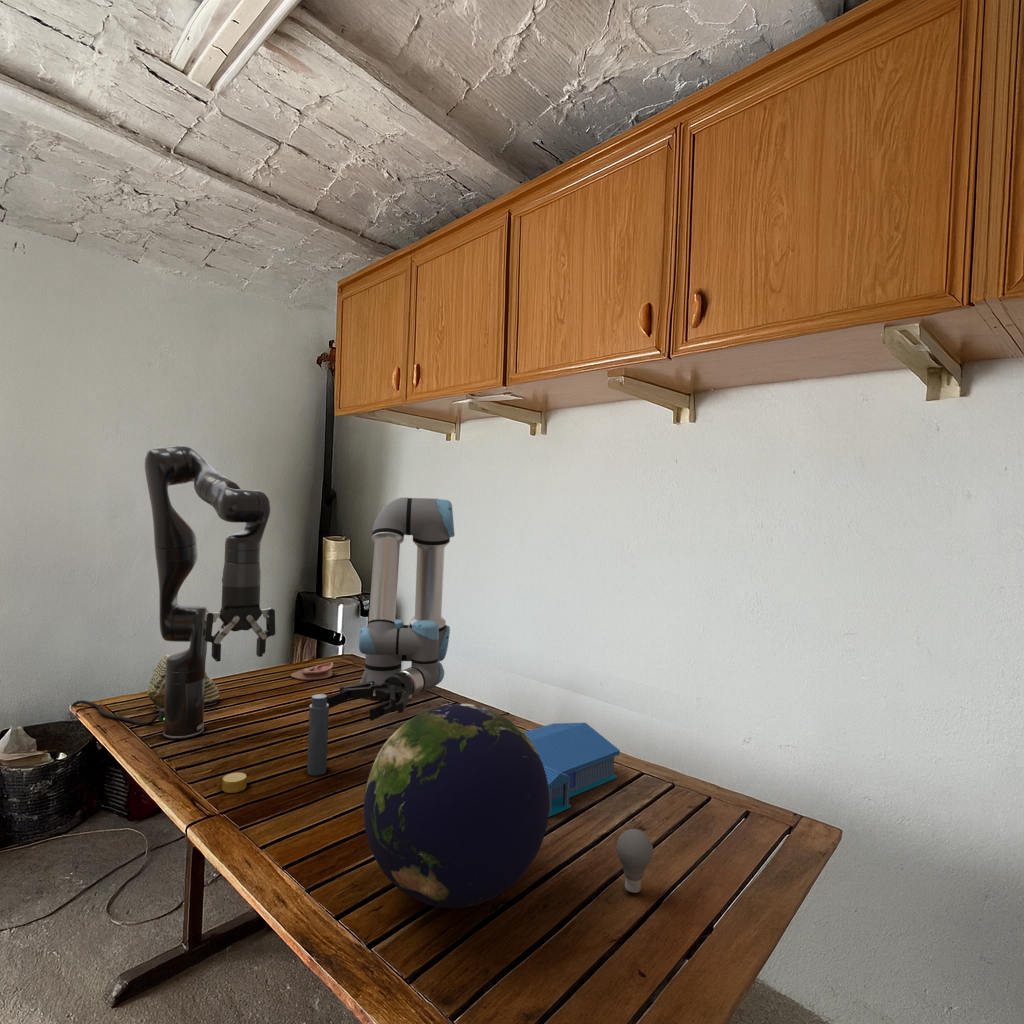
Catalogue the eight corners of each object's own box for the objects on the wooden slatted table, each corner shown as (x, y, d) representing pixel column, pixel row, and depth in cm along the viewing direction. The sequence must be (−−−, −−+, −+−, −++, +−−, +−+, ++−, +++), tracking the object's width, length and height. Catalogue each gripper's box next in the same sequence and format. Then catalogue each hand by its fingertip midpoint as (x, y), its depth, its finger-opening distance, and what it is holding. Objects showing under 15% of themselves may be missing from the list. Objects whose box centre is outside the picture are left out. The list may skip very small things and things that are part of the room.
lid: (222, 794, 133) (222, 783, 133) (221, 784, 137) (221, 774, 137) (247, 790, 135) (247, 780, 135) (245, 781, 139) (246, 770, 139)
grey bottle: (312, 766, 148) (315, 692, 148) (329, 768, 148) (332, 694, 147) (303, 774, 144) (306, 698, 144) (321, 776, 143) (324, 699, 143)
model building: (501, 837, 120) (504, 785, 120) (427, 790, 139) (429, 744, 138) (628, 782, 147) (630, 739, 147) (552, 748, 165) (553, 710, 165)
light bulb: (610, 879, 108) (613, 822, 108) (644, 879, 109) (647, 822, 109) (619, 902, 102) (622, 840, 102) (655, 901, 103) (658, 840, 103)
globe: (319, 919, 95) (326, 721, 95) (420, 827, 123) (427, 673, 122) (502, 984, 84) (511, 760, 83) (568, 867, 112) (576, 698, 111)
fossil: (144, 707, 182) (145, 655, 182) (212, 696, 194) (213, 647, 194) (151, 716, 175) (153, 662, 175) (221, 703, 188) (223, 653, 188)
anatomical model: (285, 666, 217) (303, 658, 228) (285, 677, 217) (303, 669, 228) (321, 670, 214) (337, 661, 225) (321, 681, 214) (337, 673, 225)
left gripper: (209, 587, 128) (207, 666, 128) (281, 583, 137) (278, 658, 137) (201, 582, 134) (198, 658, 134) (270, 579, 143) (267, 650, 143)
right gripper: (440, 708, 167) (389, 735, 148) (367, 689, 178) (310, 712, 160) (441, 680, 167) (390, 704, 148) (367, 663, 178) (311, 683, 159)
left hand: (238, 658), depth 136 cm, fingers open, 8 cm apart
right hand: (348, 708), depth 154 cm, fingers open, 13 cm apart
